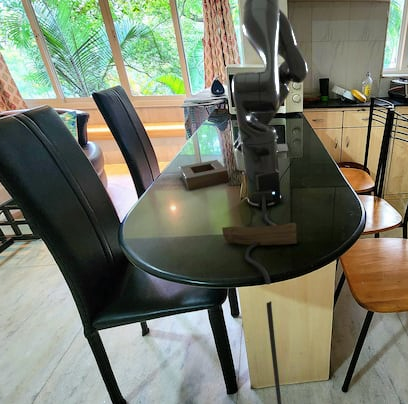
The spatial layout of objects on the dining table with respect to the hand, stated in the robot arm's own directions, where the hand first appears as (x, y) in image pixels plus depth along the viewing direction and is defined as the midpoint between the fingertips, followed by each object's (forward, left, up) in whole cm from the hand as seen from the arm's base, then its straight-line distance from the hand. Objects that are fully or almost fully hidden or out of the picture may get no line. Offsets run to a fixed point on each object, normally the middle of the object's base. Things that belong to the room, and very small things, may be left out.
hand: (237, 148), depth 100 cm
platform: (+20, -20, -8) cm, 29 cm away
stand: (-2, +13, -8) cm, 16 cm away
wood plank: (-48, +11, -8) cm, 50 cm away
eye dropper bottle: (0, -2, -8) cm, 8 cm away
